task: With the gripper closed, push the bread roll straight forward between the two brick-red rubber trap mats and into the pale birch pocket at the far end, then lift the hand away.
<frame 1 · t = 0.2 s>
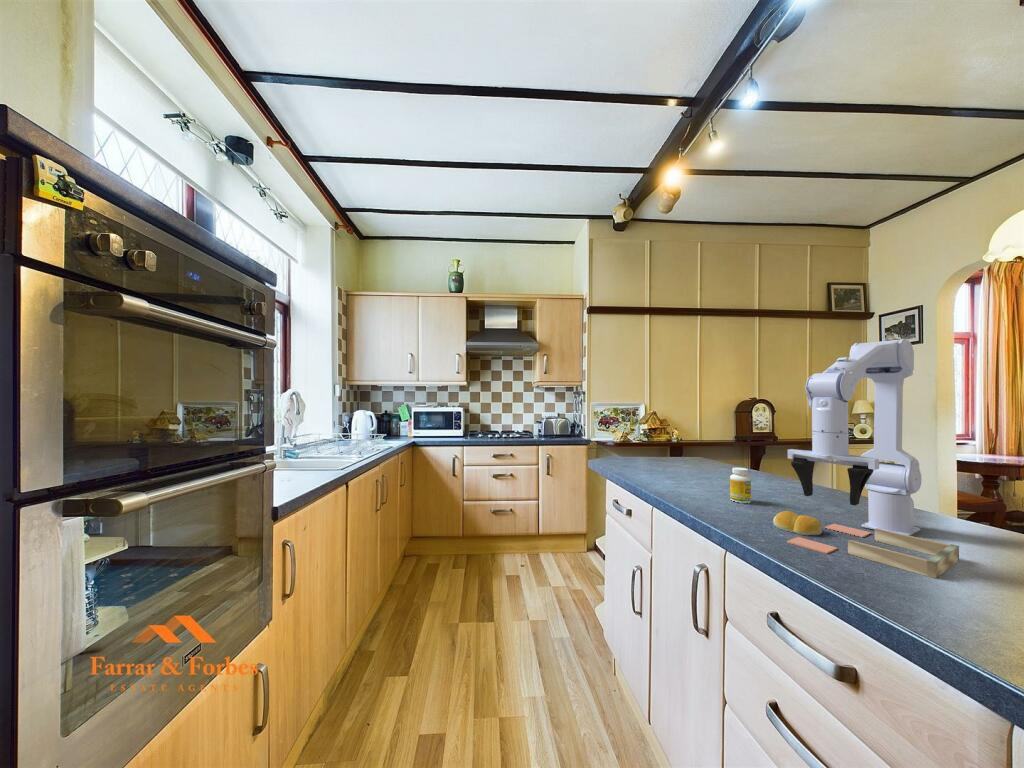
hand: (830, 499, 79), 10 cm above the countertop, tool pointing down, fingers open, 7 cm apart
trap mats: (830, 538, 86), on the countertop
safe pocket: (902, 556, 76), on the countertop
supplement bottle: (740, 502, 115), on the countertop
bread roll: (796, 531, 91), on the countertop
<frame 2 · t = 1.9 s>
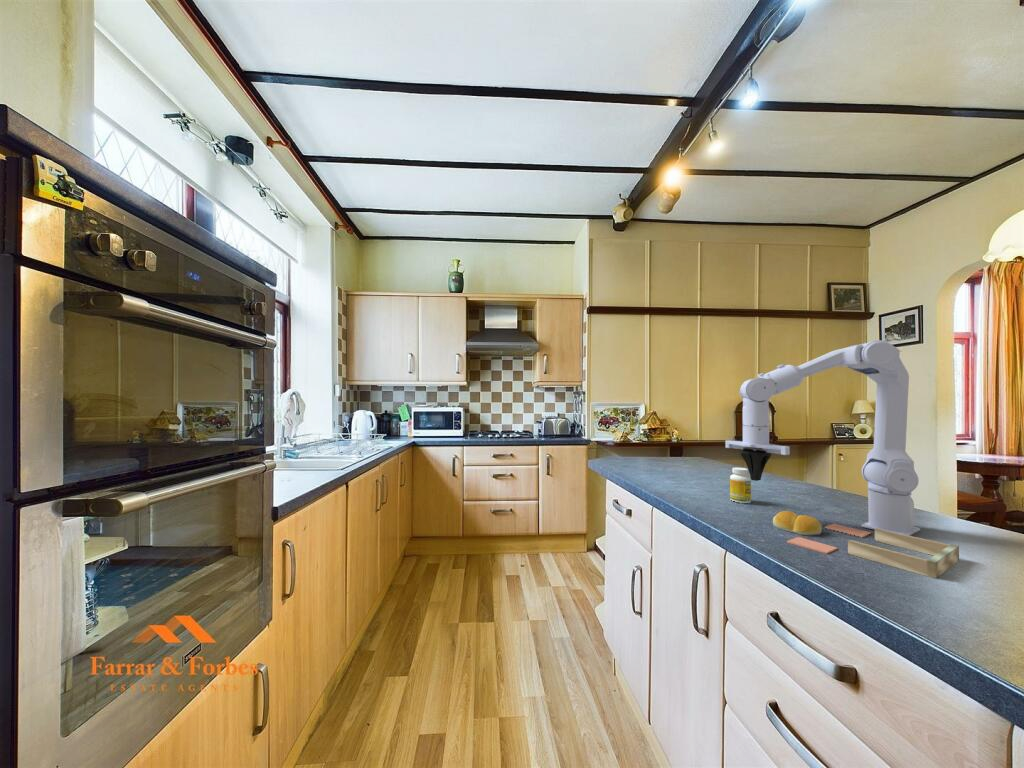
hand: (755, 479, 99), 10 cm above the countertop, tool pointing down, fingers closed
nothing on the countertop moved.
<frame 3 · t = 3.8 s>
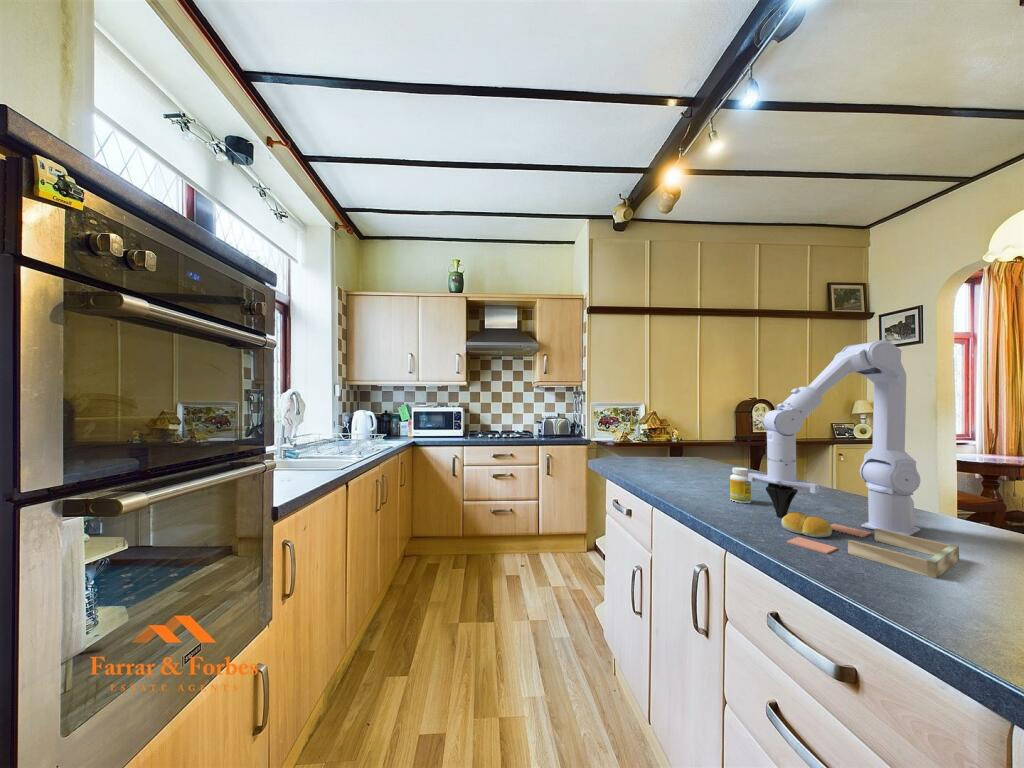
hand: (781, 517, 94), 2 cm above the countertop, tool pointing down, fingers closed
bread roll: (805, 532, 90), on the countertop, touching gripper
everything else where it was.
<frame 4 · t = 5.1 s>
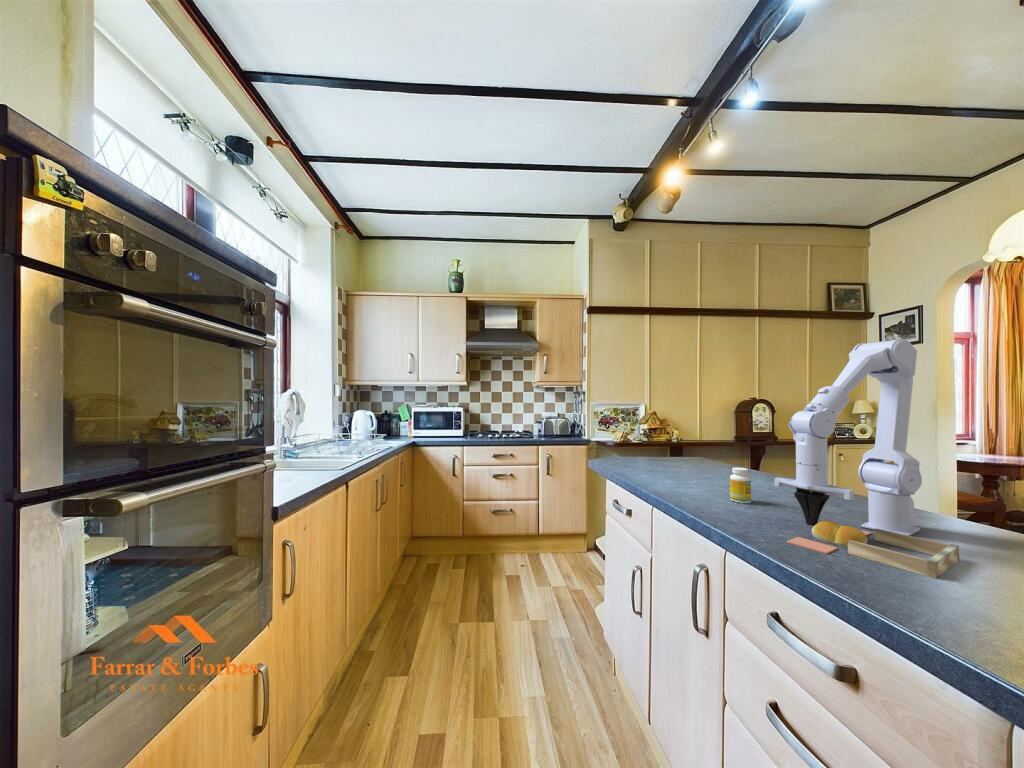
hand: (811, 524, 89), 2 cm above the countertop, tool pointing down, fingers closed
bread roll: (838, 542, 85), on the countertop, touching gripper
everything else where it was.
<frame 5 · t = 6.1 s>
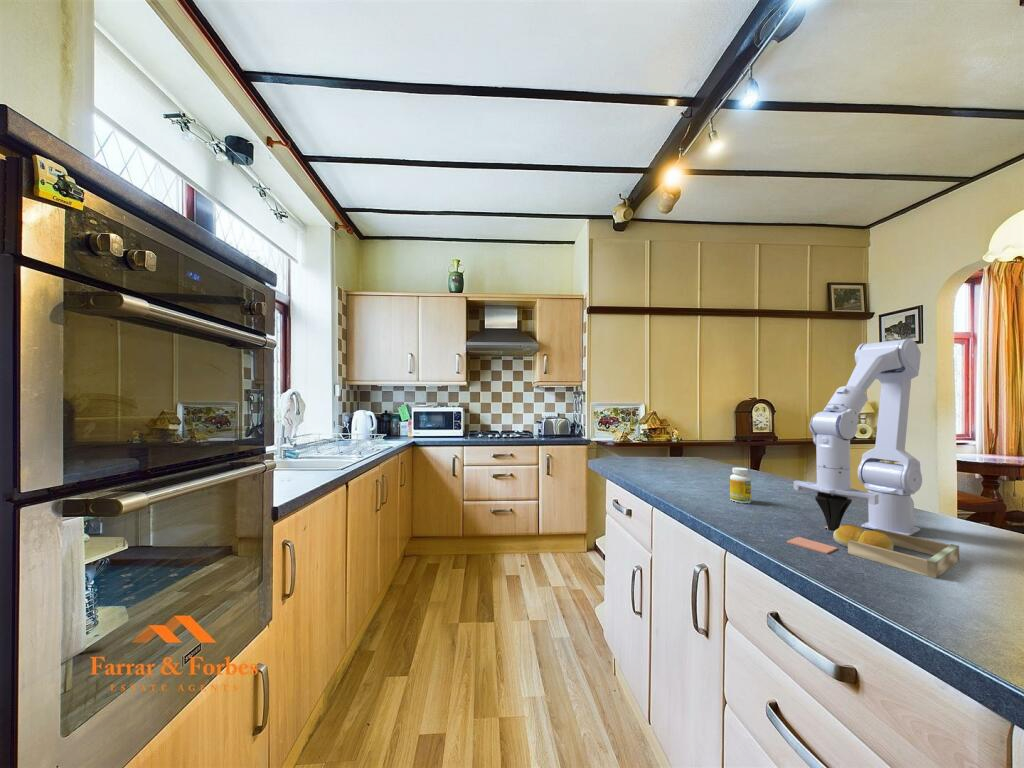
hand: (833, 529, 86), 2 cm above the countertop, tool pointing down, fingers closed
bread roll: (861, 547, 81), on the countertop, touching gripper
everything else where it was.
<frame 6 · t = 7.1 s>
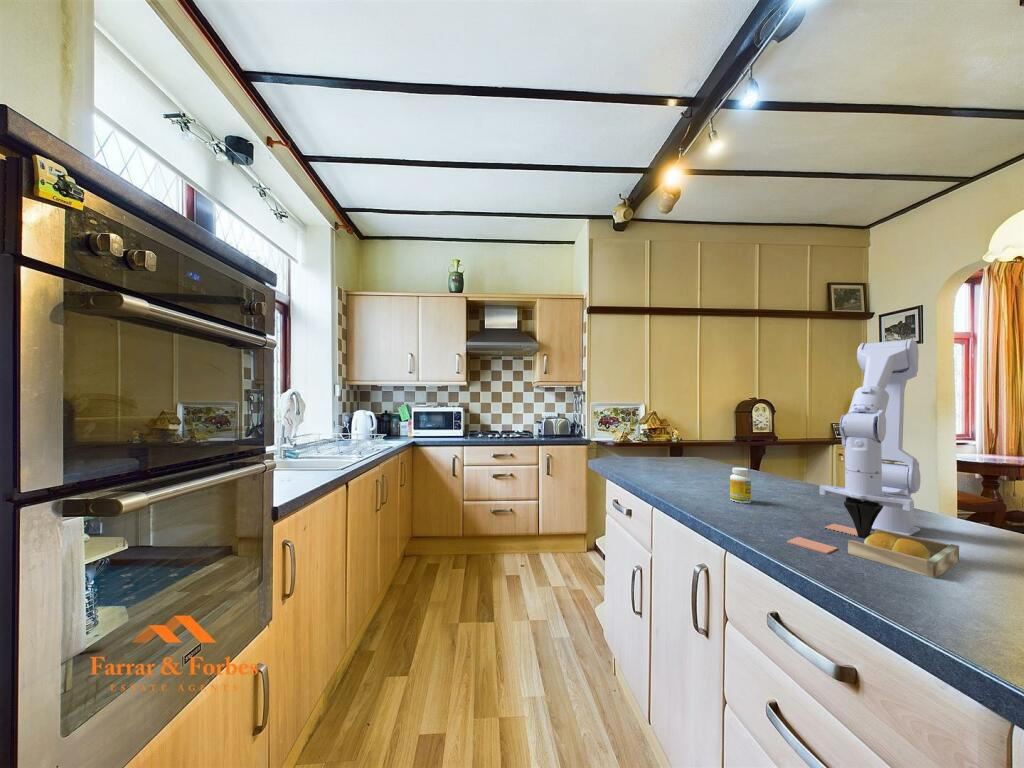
hand: (863, 537, 81), 2 cm above the countertop, tool pointing down, fingers closed
bread roll: (895, 556, 77), on the countertop, touching gripper
everything else where it was.
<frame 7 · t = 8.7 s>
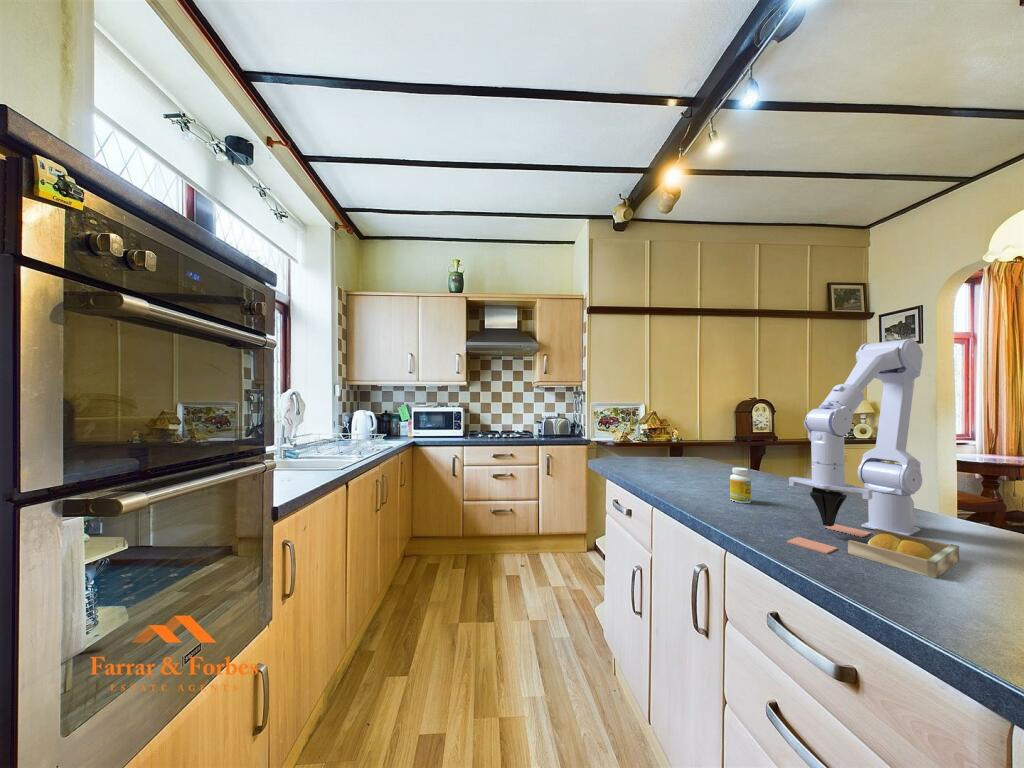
hand: (828, 525, 87), 3 cm above the countertop, tool pointing down, fingers closed
bread roll: (898, 558, 76), on the countertop
everything else where it was.
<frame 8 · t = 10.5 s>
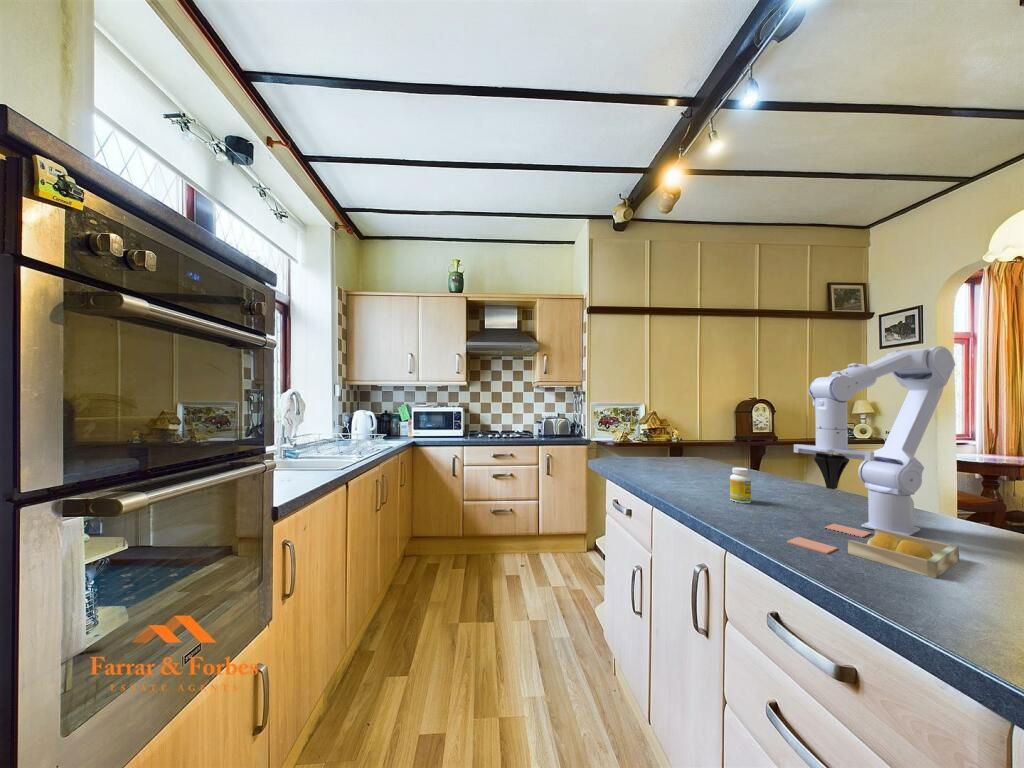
hand: (831, 488, 90), 10 cm above the countertop, tool pointing down, fingers closed
nothing on the countertop moved.
at the end: bread roll inside the target area (0.6 cm from its centre), on the countertop; bread roll touching countertop; bread roll moved 17.5 cm from its start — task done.
